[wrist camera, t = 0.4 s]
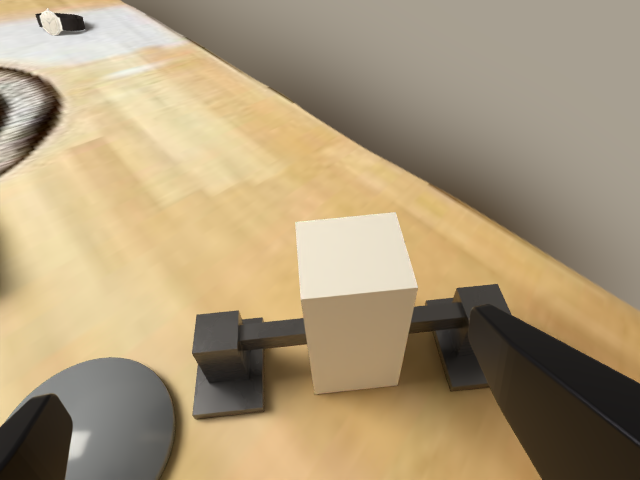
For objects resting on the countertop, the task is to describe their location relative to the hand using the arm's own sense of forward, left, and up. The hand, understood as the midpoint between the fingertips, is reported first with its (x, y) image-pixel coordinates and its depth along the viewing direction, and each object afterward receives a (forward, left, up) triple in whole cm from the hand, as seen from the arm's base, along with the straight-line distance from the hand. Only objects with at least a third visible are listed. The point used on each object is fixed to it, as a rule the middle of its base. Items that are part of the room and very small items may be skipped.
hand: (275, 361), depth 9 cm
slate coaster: (+7, +12, -16) cm, 21 cm away
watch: (+71, +21, -17) cm, 76 cm away
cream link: (+8, -4, -16) cm, 19 cm away
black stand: (+8, -4, -16) cm, 19 cm away
